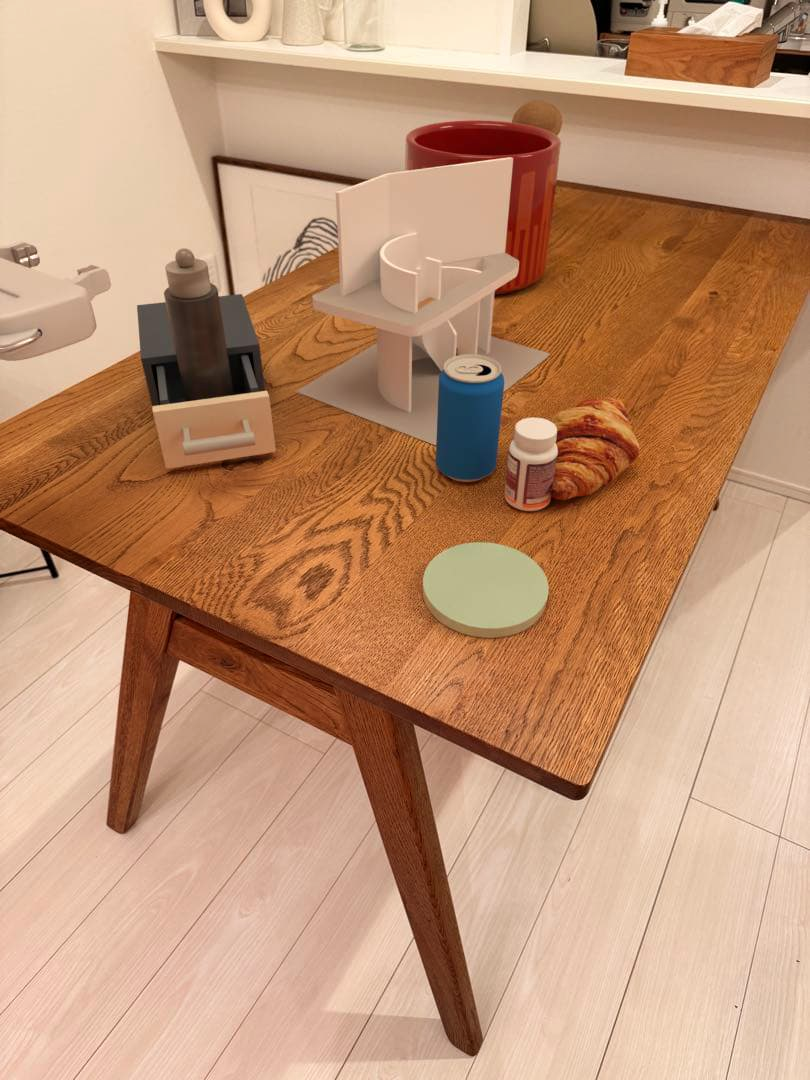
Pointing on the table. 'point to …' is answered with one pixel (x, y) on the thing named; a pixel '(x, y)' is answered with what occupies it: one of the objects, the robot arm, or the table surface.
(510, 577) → the disc
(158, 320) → the cabinet
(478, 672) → the table surface
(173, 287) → the pepper mill
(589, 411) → the croissant
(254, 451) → the drawer
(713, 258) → the table surface
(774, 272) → the table surface
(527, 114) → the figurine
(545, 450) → the pill bottle
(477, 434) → the beverage can
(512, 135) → the planter
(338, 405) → the architectural model
